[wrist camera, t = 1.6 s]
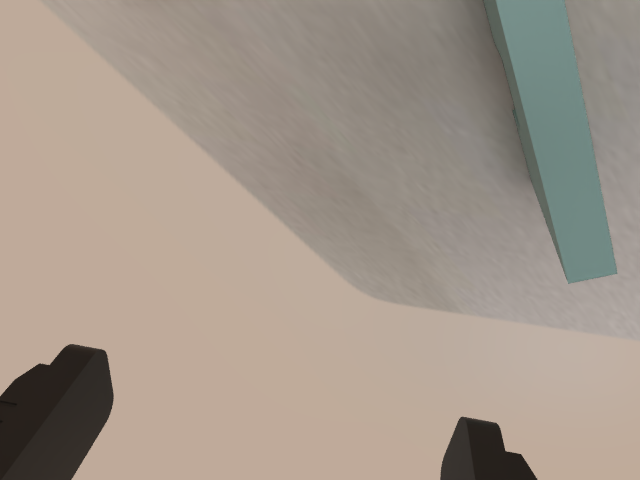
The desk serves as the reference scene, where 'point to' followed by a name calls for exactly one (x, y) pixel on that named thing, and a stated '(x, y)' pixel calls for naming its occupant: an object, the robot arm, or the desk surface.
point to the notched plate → (554, 130)
